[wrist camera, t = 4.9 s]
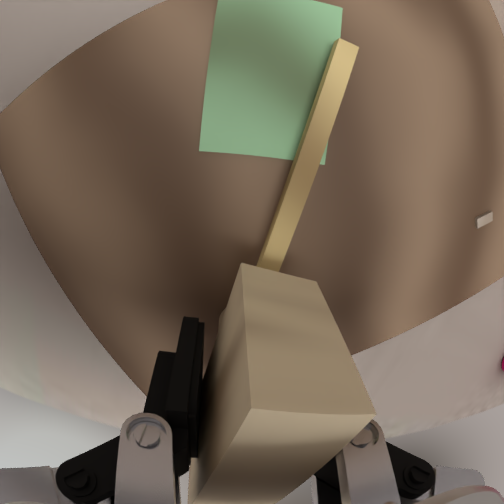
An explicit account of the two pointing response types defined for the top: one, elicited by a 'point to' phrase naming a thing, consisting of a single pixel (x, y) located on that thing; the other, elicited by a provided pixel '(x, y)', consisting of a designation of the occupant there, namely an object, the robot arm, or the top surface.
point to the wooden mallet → (279, 353)
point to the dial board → (264, 164)
